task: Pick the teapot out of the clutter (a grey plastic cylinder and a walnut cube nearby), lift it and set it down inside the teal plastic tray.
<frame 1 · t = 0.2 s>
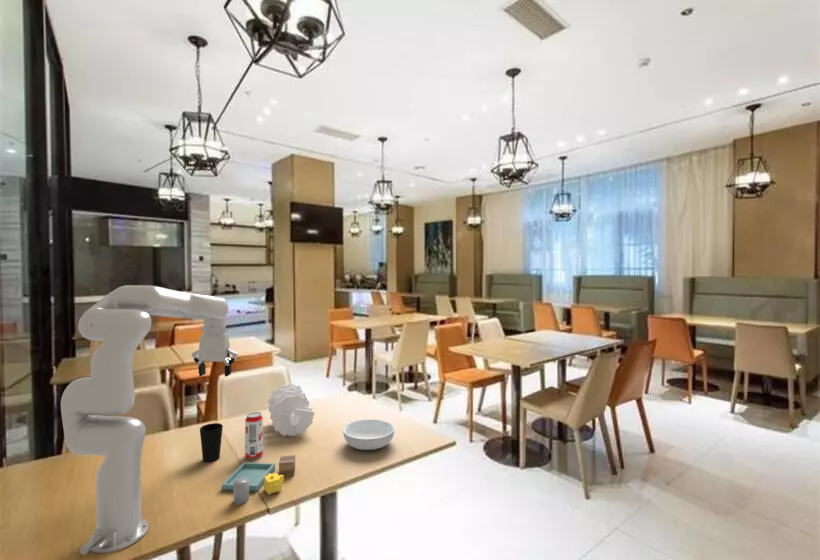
hand: (215, 375, 146), 31 cm above the table, tool pointing down, fingers open, 9 cm apart
tray: (249, 479, 131), on the table
beer can: (254, 456, 147), on the table
walnut cube: (287, 473, 135), on the table
spiral staircase: (290, 428, 174), on the table
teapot: (274, 491, 124), on the table
cup: (211, 459, 145), on the table
serving bowl: (368, 445, 158), on the table
grey cylinder: (241, 500, 119), on the table
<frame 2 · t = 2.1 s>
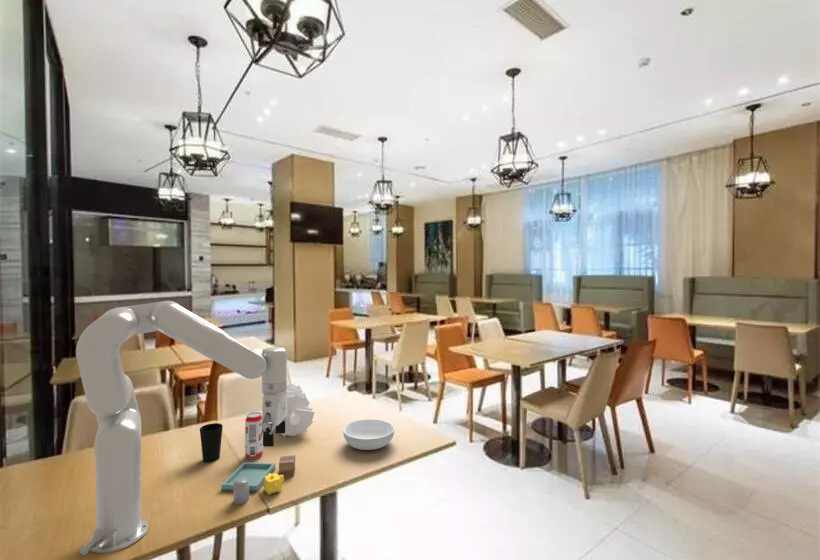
hand: (274, 439, 124), 16 cm above the table, tool pointing down, fingers open, 9 cm apart
nothing on the table moved.
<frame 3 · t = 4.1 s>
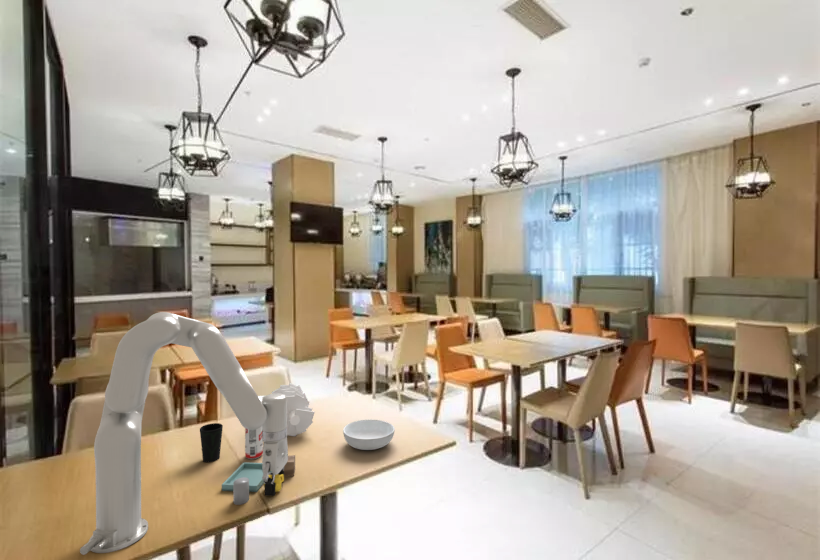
hand: (274, 488, 124), 1 cm above the table, tool pointing down, fingers closed on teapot, 6 cm apart
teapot: (274, 490, 125), on the table, touching gripper
everything else where it was.
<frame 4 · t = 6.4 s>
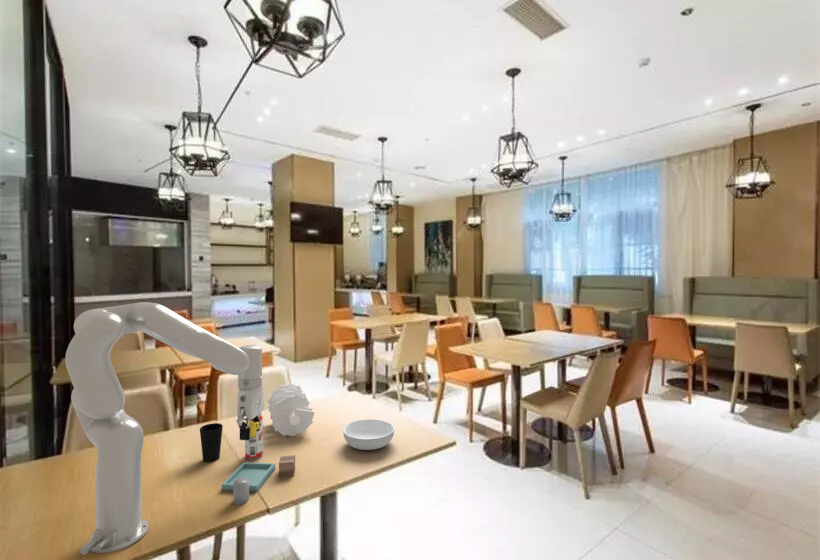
hand: (249, 434, 131), 15 cm above the table, tool pointing down, fingers closed on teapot, 6 cm apart
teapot: (250, 437, 131), point 14 cm above the table, touching gripper
everything else where it was.
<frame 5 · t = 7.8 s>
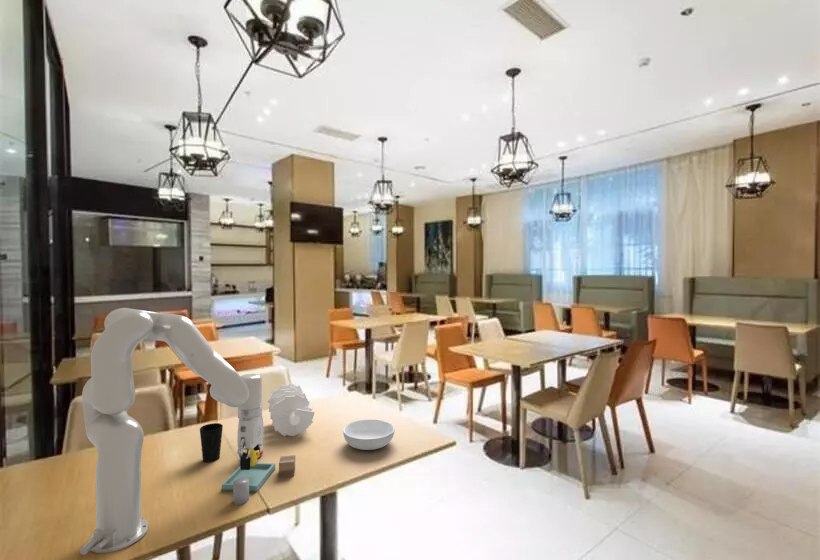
hand: (250, 463, 131), 5 cm above the table, tool pointing down, fingers closed on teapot, 6 cm apart
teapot: (250, 465, 131), point 4 cm above the table, touching gripper
everything else where it was.
when the fingers open (3 cm above the table, at t = 8.7 s): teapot drops 2 cm, resting on tray.
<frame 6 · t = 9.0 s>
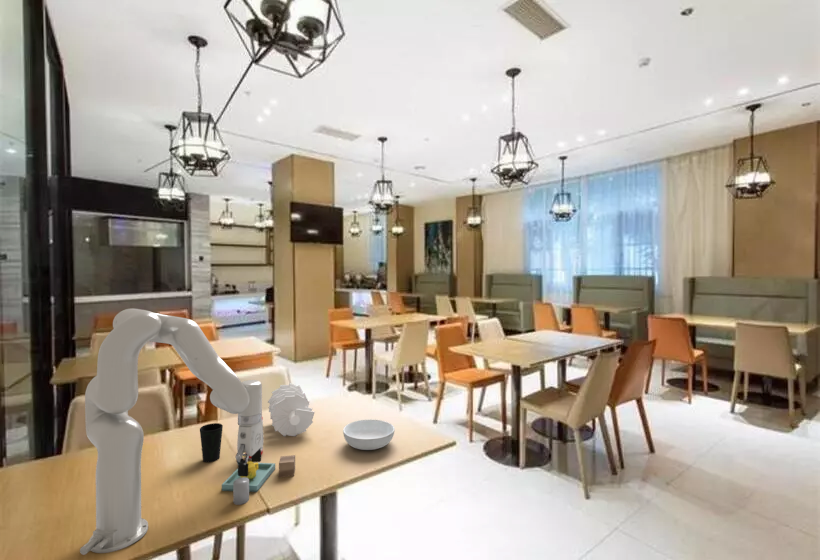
hand: (249, 468, 131), 4 cm above the table, tool pointing down, fingers open, 9 cm apart
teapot: (249, 478, 131), resting on tray
everything else where it was.
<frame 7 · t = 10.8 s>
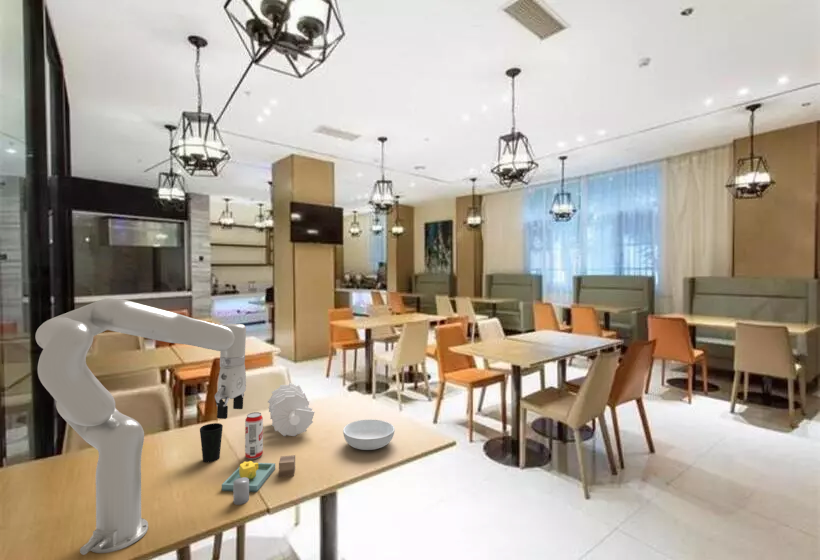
hand: (230, 413, 128), 23 cm above the table, tool pointing down, fingers open, 9 cm apart
nothing on the table moved.
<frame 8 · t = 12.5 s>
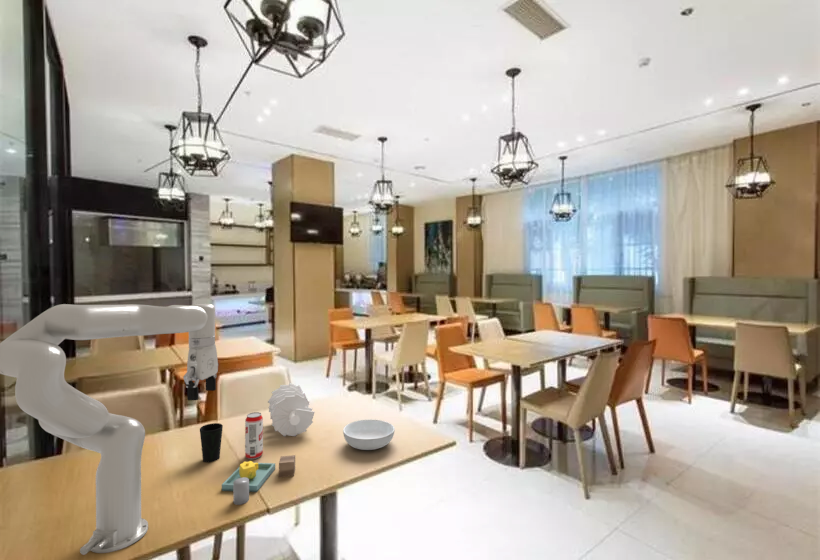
hand: (202, 394, 125), 30 cm above the table, tool pointing down, fingers open, 9 cm apart
nothing on the table moved.
at the end: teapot inside the target area on the tray (0.1 cm from its centre), point 0.4 cm above the tray's base; the gripper is holding nothing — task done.
